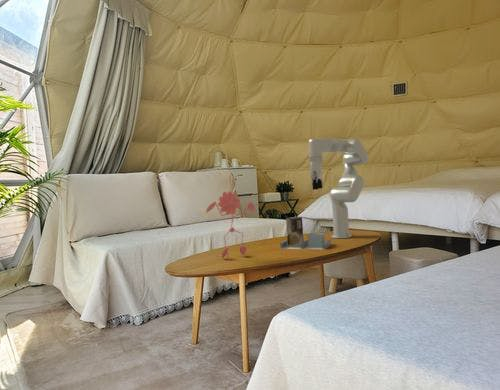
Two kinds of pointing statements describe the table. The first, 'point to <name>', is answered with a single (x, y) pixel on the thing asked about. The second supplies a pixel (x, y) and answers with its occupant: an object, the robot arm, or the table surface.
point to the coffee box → (294, 231)
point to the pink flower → (229, 205)
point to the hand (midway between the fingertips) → (317, 188)
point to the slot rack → (305, 245)
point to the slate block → (316, 240)
